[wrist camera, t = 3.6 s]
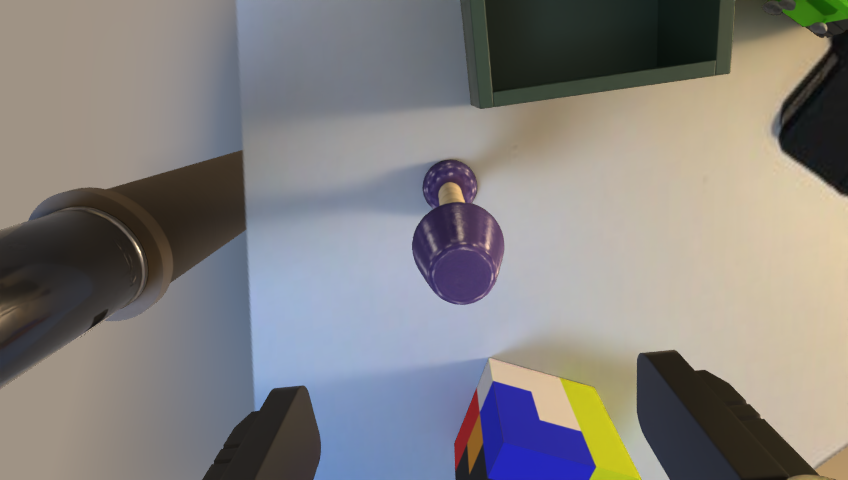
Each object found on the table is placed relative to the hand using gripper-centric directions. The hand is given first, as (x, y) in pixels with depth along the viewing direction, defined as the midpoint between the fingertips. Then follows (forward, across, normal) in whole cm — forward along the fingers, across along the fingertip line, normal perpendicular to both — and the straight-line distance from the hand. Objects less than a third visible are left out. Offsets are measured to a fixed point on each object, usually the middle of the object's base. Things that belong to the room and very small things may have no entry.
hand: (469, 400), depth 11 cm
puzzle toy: (+25, -4, +22) cm, 34 cm away
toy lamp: (+25, 0, 0) cm, 25 cm away
